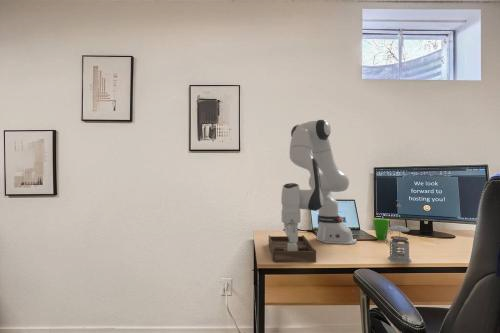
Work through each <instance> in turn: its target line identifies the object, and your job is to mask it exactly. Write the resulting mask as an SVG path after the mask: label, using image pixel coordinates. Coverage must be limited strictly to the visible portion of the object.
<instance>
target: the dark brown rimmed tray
mask: <svg viewBox="0 0 500 333" xmlns="http://www.w3.org/2000/svg"><path fill="white" fill-rule="evenodd" d="M287 243H289V239H288V237H287V235H286V236H284V235H283V236H273V235H268V247H269V251H270V254H271V260H272V263H317V250H316V248H315V247H314V246H313V244H311V243H310V242H309V240H308V239H307V238H306V237H305V235H301V236H299V235H298V243H296V244H297V251H288V248H287Z"/></svg>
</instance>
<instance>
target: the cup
mask: <svg viewBox="0 0 500 333" xmlns="http://www.w3.org/2000/svg"><path fill="white" fill-rule="evenodd" d="M372 221H373V227H374V231H375V238H376V239H377V240H379V241H387V238H388V234H387V233H388V232H387V231H389V224H390V220H389V219H384V218H374V219H373V220H372ZM386 232H387V233H386ZM385 233H386V235H385ZM384 236H385V239H384Z"/></svg>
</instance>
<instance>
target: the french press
mask: <svg viewBox="0 0 500 333" xmlns="http://www.w3.org/2000/svg"><path fill="white" fill-rule="evenodd" d="M396 207H397V208H401V207H402V205H401V204H399V203H397V204H396ZM394 232H397V233H398V236H396V235H395V236H390V240H389V239H386V240H384V242H385V244H386V246H388V247H389V256H387V259H388V260H389V261H391V262H395V263H399V264H409V263H412V261H413V260H412V259H411V258H410V242H409V238H408V237H405V236H400V235H401V234H400V233H408V232H410V229H409V228H408V227H406V226H402V225H400V224H398V225H393V226H389V227H388V231H387V232H386V233H387V235H388V234H390V235H392V234H393V233H394ZM386 233H385V235H386ZM384 239H385V236H384ZM388 240H389V241H388Z"/></svg>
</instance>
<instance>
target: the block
mask: <svg viewBox="0 0 500 333" xmlns="http://www.w3.org/2000/svg"><path fill="white" fill-rule="evenodd" d="M287 248H288V251H297V244H296V243H287Z"/></svg>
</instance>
